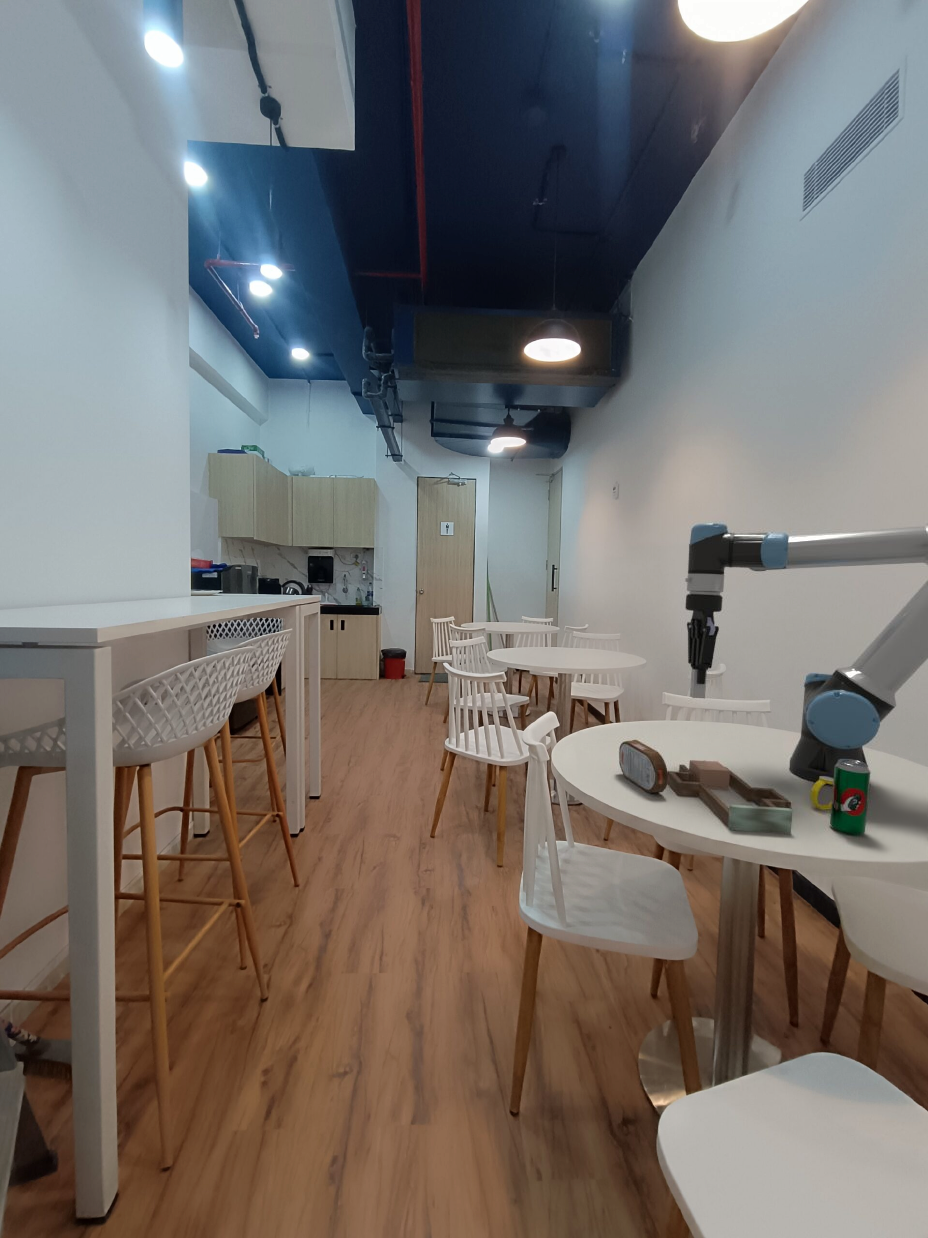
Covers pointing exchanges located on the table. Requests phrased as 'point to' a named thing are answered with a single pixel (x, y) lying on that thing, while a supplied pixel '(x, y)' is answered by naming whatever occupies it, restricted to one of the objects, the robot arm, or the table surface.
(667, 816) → the table surface
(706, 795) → the box
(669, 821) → the table surface
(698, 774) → the block
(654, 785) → the tin
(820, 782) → the watch
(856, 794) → the soda can
